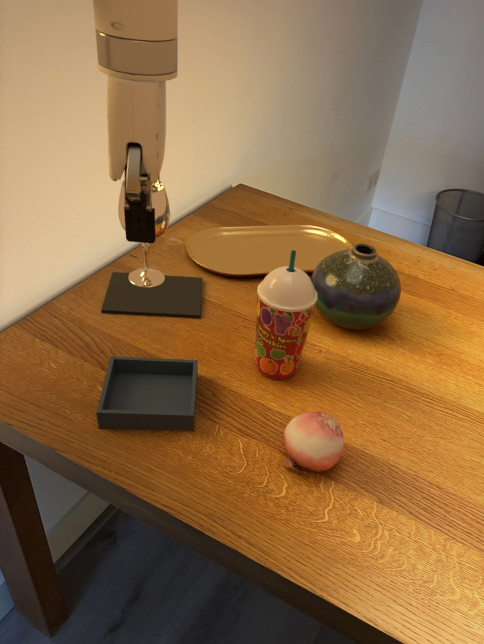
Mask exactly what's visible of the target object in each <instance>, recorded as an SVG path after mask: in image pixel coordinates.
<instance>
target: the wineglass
mask: <svg viewBox="0 0 484 644" xmlns="http://www.w3.org/2000/svg"><path fill="white" fill-rule="evenodd" d="M141 180H148V177H141ZM141 192H144V194H145V195H146V186H141ZM118 195H119V196H118V206H117V207H118V208H117V210H118V211H117V212H118V219H119V223H120V226H121V227H122V229H123V230H124V231H125V215H124V206H125V182H124V180H123V181H122V182H121V186H120V190H119V194H118ZM152 208H155V234H156V239H157V238H159V237H161V236H162V235H163V234H164V233H165V232H166V231H167V229H168V227H169V225H170V220H171V210H170V202H169V198H168V193H167V189H166V186H165V184H164V182H163V181H161V180H158V181H157V182H156V183H154V184H153V185H152ZM140 243H141V242H140ZM150 244H151V243H141V244H140V246H141V249H142V254H143V263H144V264H143V265H144V266H143V267H142V268H138V269H135V270H133V271H131V272H129V273H130V274H129V277H128V279H129V281H130V282H131V283H132V284H134V285H136V286H139V287H155V286H158V285H160V284H162V283H163V282H164V280H165V276H164V275H165V274H164V273H163V272H162V271H160V270H158V269H155V268H150V267H149V251H150V247H151V245H150Z"/></svg>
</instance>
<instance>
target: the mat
mask: <svg viewBox="0 0 484 644" xmlns="http://www.w3.org/2000/svg"><path fill="white" fill-rule="evenodd" d="M130 273H131V272H121V271H112V273H111V276H110V280H109V283H108V286H107V289H106V293H105V296H104V299H103V302H102V306H101V309H100V311H101V313H102V314H116V315H117V314H119V315H137V316H155V317H174V318H190V319H191V318H192V319H201V310H202V294H203V280H204V279H203V277H198V276H183V275H179V276H178V275H167V274H164V276H165V280H164V282H163V283H162V284H160V285H158V286H155V287H139V286H136V285H134V284H132V283H131V282H130V281H129V279H128V277H129V274H130Z"/></svg>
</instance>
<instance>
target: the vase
mask: <svg viewBox="0 0 484 644" xmlns="http://www.w3.org/2000/svg"><path fill="white" fill-rule="evenodd" d="M311 274H312V275H311V278H310V279H311V281H312V283H313V285H314V289H315V290H316V292H317V301H316V304H315V308H316V310H317V312H318V313H319V314H320V316H321V317H323V318H324V319H325V320H327V321H328V322H329V323H331V324H333V325H335V326H338V327H339V328H343V329H347V330H358V331H360V330H367V329H372V328H374V327H377V326H380V324H382V323H383V322H385V321H386V320H387V319H388V318H390V317H391V315H392V314H393V313H394V311H395V310H396V308H397V307H398V304H399V301H400V299H401V295H402V294H401V293H402V285H401V280H400V277H399V274H398V273H397V271H396V269H395V267H394V266H393V265H391V263H390V262H388V260H387V259H385V258H384V257H382V256H380V255H379V254H378V251H377V248H375V247H374V246H372V245H370V244H367V243H355V244H353V247H352V249H345V250H340V251H337V252H334V253H332V254H330V255H328V256H326V257H325V258H324V259H322V260H321V261H320V262H319V264H318V265H317V266H316V268H315V270H314V272H313V273H311Z"/></svg>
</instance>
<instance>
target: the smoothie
mask: <svg viewBox="0 0 484 644" xmlns="http://www.w3.org/2000/svg"><path fill="white" fill-rule="evenodd" d="M295 256H296V251H295V250H292V251H291V256H290V263H289V266H282V267H278V268H276V269H274V270H273V271H271V272H270V273H269V274H268V275H267V276H264V279H262V281H260V283H259V284H258V285H257V289H256V294H257V297H256V299H257V300H256V320H255V321H256V322H255V323H256V324H255V325H256V326H255V348H254V349H255V351H254V352H255V354H254V362H255V365H256V367H257V369H258V371H259V372H260V374H261V375H263V376H264V377H266V378H269V379H271V380H285V379H288V378H290V377H291V376H292V375H294V373H295V372H296V371H297V370H298V369H299V367H300V362H301V359H302V355H303V353H304V348H305V344H306V342H307V337H308V334H309V330H310V326H311V322H312V319H313V316H314V315H313V314H314V311H315V308H316V307H315V304H316V301H317V292H316V290H315V289H314V285H313V283H312V281H311V278H310V276H309V275H308V273H305V272H304V271H302V270H301V269H299V268H296V267H294V263H295Z"/></svg>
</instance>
